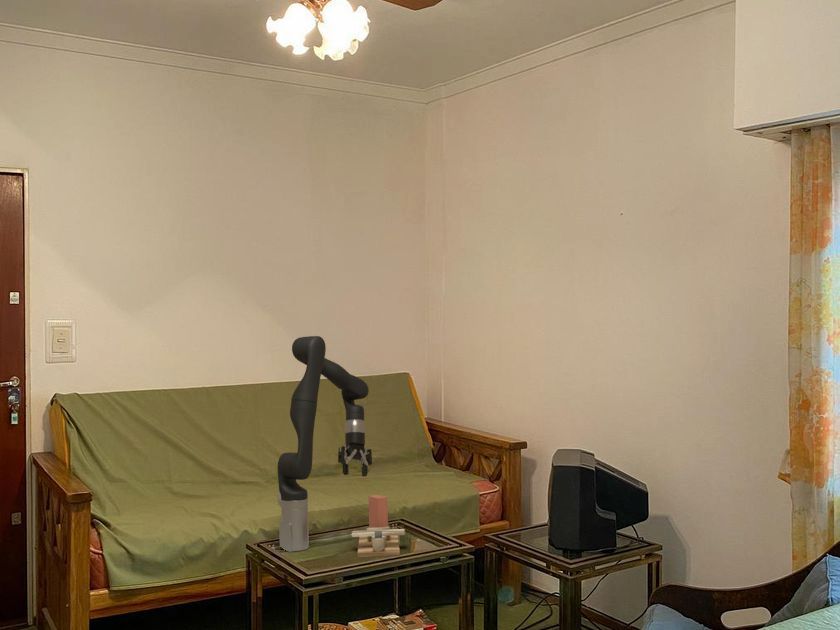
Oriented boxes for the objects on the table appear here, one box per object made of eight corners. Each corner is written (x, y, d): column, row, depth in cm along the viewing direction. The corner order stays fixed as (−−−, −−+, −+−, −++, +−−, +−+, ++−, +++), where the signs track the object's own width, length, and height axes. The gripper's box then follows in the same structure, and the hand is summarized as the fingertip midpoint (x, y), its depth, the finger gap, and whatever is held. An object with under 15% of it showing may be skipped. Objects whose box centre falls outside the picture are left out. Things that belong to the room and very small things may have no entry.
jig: (405, 555, 282) (405, 534, 282) (351, 557, 281) (350, 536, 281) (403, 536, 310) (403, 517, 310) (354, 538, 309) (353, 519, 309)
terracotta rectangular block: (388, 535, 313) (387, 497, 313) (378, 537, 310) (377, 498, 311) (378, 532, 318) (377, 494, 319) (369, 533, 316) (368, 496, 317)
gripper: (345, 429, 317) (345, 473, 312) (375, 433, 326) (376, 475, 321) (334, 432, 323) (333, 475, 317) (364, 436, 331) (364, 477, 326)
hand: (355, 475), depth 319 cm, fingers open, 8 cm apart
